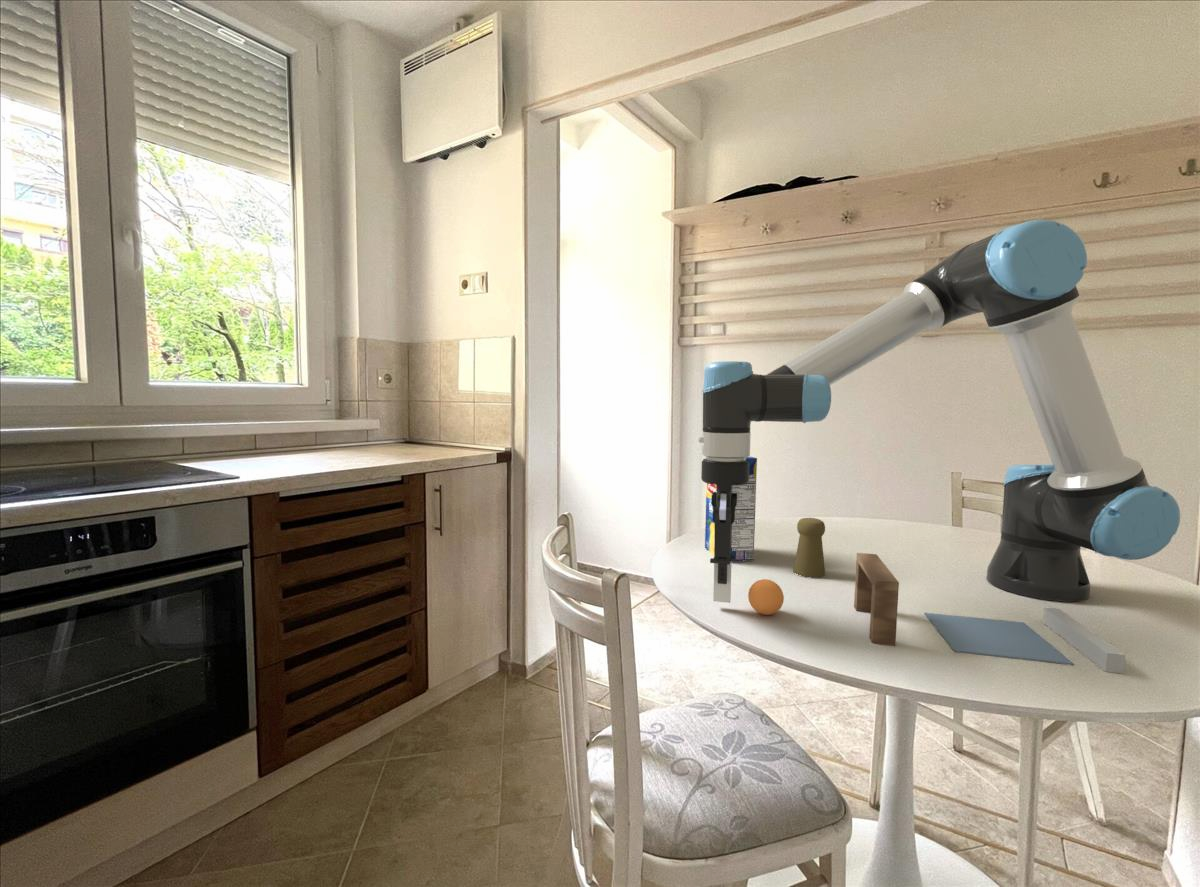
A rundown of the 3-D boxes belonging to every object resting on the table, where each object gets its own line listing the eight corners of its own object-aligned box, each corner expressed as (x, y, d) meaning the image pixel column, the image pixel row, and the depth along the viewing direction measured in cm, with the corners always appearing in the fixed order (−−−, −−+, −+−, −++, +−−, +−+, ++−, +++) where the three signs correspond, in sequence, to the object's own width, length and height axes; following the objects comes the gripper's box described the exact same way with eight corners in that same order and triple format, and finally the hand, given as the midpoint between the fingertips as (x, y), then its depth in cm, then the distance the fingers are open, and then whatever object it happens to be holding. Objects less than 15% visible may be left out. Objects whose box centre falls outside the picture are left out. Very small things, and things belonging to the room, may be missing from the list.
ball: (782, 608, 93) (783, 576, 93) (784, 621, 88) (785, 587, 87) (747, 605, 94) (748, 573, 94) (747, 618, 89) (748, 584, 89)
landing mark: (1023, 623, 88) (1024, 622, 88) (1073, 665, 74) (1073, 663, 74) (924, 613, 91) (924, 612, 91) (954, 651, 78) (954, 650, 78)
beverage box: (723, 562, 119) (726, 458, 117) (704, 548, 129) (707, 453, 127) (753, 560, 120) (757, 458, 118) (732, 547, 131) (735, 452, 129)
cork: (828, 579, 108) (830, 523, 107) (795, 576, 110) (797, 521, 109) (822, 569, 114) (824, 516, 113) (791, 567, 115) (793, 514, 114)
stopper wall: (1058, 624, 88) (1059, 609, 87) (1123, 673, 72) (1125, 655, 72) (1043, 623, 88) (1044, 607, 88) (1105, 671, 73) (1107, 652, 72)
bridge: (873, 608, 94) (876, 554, 93) (895, 645, 80) (898, 582, 79) (854, 606, 94) (856, 552, 94) (872, 643, 80) (875, 580, 80)
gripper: (705, 453, 98) (702, 585, 100) (698, 462, 85) (695, 612, 88) (749, 454, 96) (745, 589, 98) (749, 464, 84) (745, 618, 86)
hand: (722, 600), depth 93 cm, fingers closed
